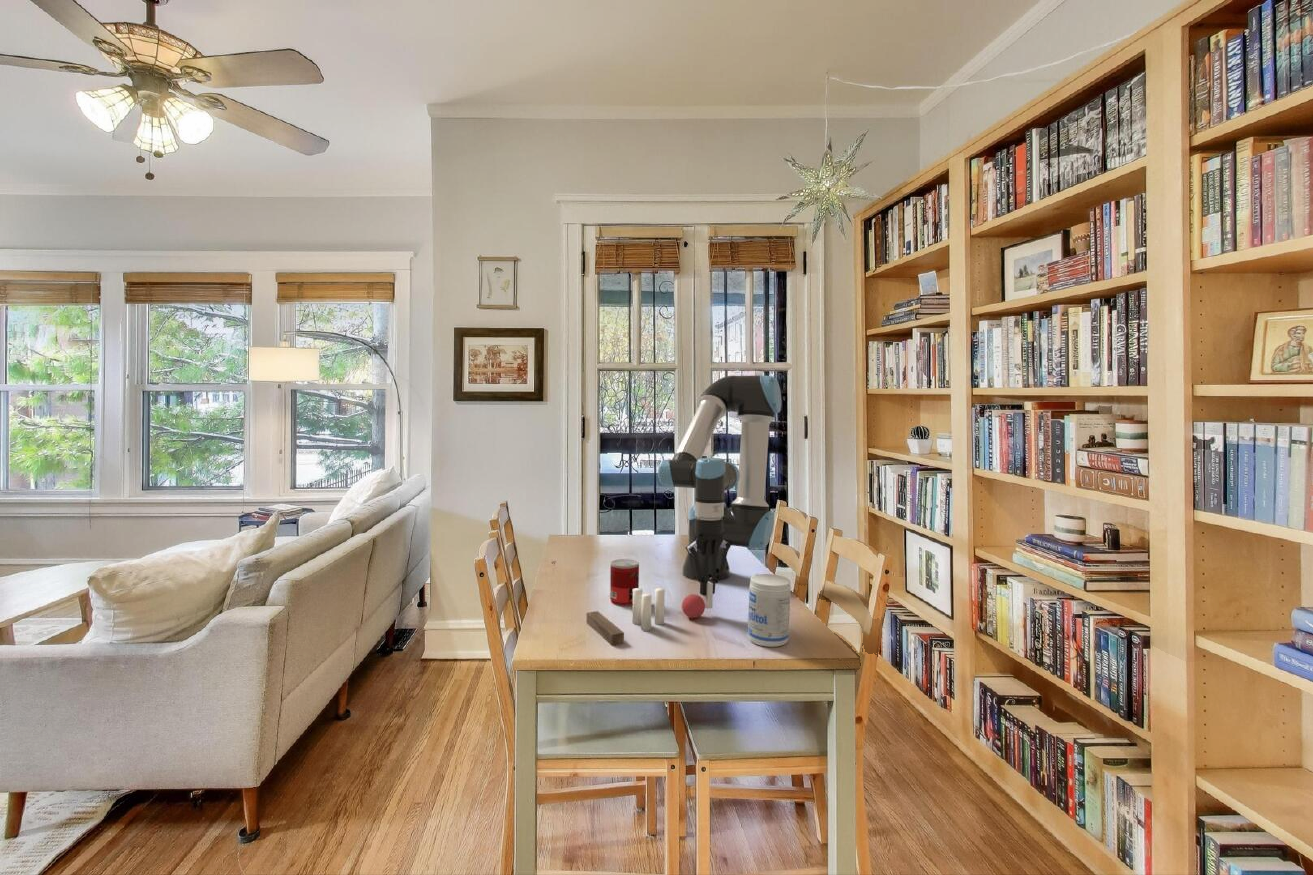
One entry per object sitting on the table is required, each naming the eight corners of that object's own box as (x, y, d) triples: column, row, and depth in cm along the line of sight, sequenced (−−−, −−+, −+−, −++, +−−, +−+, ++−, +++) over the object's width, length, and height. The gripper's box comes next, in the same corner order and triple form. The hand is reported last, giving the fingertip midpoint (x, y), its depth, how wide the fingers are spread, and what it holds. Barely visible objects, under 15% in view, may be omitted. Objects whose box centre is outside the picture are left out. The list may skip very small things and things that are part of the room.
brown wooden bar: (597, 620, 158) (597, 611, 158) (623, 643, 144) (623, 632, 144) (586, 622, 156) (586, 612, 156) (611, 645, 142) (612, 634, 142)
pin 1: (639, 620, 159) (639, 587, 158) (643, 623, 156) (644, 590, 156) (630, 621, 157) (631, 588, 157) (634, 624, 155) (635, 591, 155)
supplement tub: (739, 640, 146) (741, 579, 145) (760, 629, 154) (762, 571, 153) (776, 652, 140) (778, 587, 139) (796, 639, 147) (798, 578, 146)
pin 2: (648, 626, 154) (648, 593, 154) (652, 630, 152) (653, 596, 151) (639, 628, 153) (639, 594, 152) (643, 631, 151) (644, 597, 150)
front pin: (661, 620, 159) (661, 587, 158) (665, 623, 157) (666, 590, 156) (652, 621, 158) (653, 589, 157) (657, 625, 155) (657, 591, 155)
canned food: (635, 606, 169) (635, 567, 168) (606, 604, 170) (607, 565, 170) (641, 598, 176) (641, 559, 176) (614, 595, 178) (614, 558, 177)
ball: (695, 588, 165) (676, 595, 162) (708, 595, 160) (689, 602, 157) (697, 609, 166) (678, 616, 163) (710, 617, 161) (691, 624, 158)
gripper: (695, 521, 155) (693, 614, 157) (738, 518, 162) (735, 607, 163) (680, 516, 162) (678, 605, 163) (721, 513, 168) (719, 599, 169)
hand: (707, 606), depth 163 cm, fingers closed
